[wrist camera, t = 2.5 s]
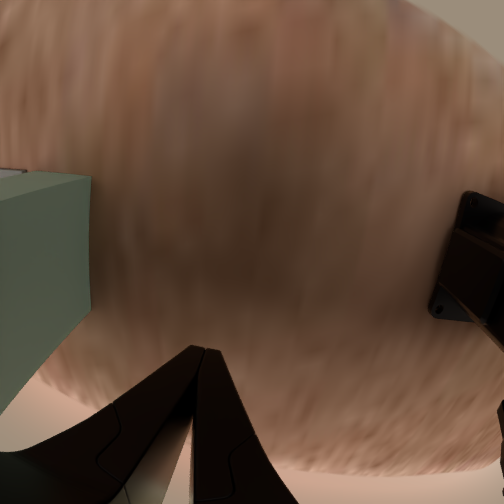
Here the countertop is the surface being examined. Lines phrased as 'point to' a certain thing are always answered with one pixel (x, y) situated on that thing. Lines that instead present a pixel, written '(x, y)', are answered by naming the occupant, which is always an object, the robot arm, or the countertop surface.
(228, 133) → the countertop surface
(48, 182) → the slab
